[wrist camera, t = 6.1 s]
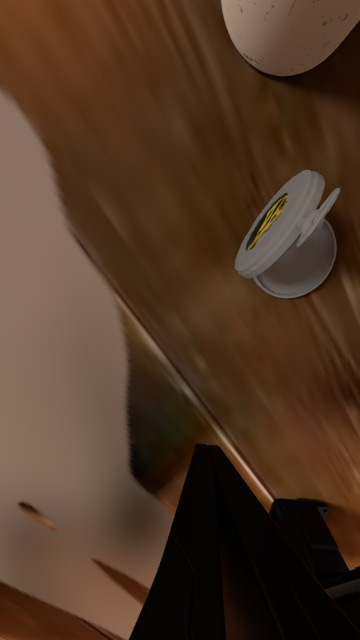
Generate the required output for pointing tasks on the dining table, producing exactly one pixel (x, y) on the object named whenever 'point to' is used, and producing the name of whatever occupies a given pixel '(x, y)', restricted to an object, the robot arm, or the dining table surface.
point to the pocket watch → (291, 239)
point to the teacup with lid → (288, 31)
